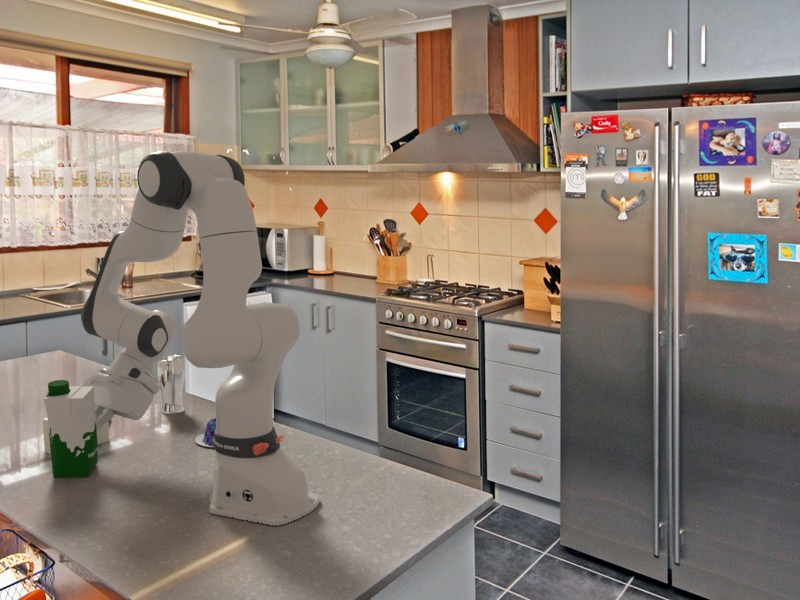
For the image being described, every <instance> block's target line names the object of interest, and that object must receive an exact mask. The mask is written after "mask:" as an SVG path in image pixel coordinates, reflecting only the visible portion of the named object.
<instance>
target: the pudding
mask: <svg viewBox="0 0 800 600" xmlns="http://www.w3.org/2000/svg"><path fill="white" fill-rule="evenodd" d="M215 429H216V417H215V418H211V419H210V420H208V421H207V423H206V427H205V430H204V432H203V433H201V434H199V435H197V436H196V437H195V439H194V442H195V443H196V444H197V445H200V446H203V447H207V448H208V447H209V448H214V431H215ZM203 438H204V439H203ZM202 439H203V443H202V442H201V441H202ZM205 442H206V443H205ZM205 444H206V445H205ZM209 445H210V446H209Z"/></svg>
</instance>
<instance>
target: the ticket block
mask: <svg viewBox="0 0 800 600" xmlns="http://www.w3.org/2000/svg"><path fill="white" fill-rule="evenodd" d="M100 416H101V415H100ZM100 416H99V417H100ZM109 425H110V423H109V422H106V423H105V424H103V426H102V427H101V429H100V430H97V442H98V444H99V445H101V443H102V444H104V442H105V443H107V441H108V442H110V426H109ZM42 428H43V429H42V432H43V442H44V443H43V446H44V453H46V454H49V455H51V451H50V440H49V429H48V418H47V417H45V418H44V417H43V418H42Z"/></svg>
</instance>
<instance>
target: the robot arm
mask: <svg viewBox="0 0 800 600" xmlns="http://www.w3.org/2000/svg"><path fill="white" fill-rule="evenodd" d="M136 176H137V178H136V179H137V186H138V190H137V193H136V195H135V199H134V201H133V205H132V210H131V214H130V218H129V219H130V220H129V223H128V225H127V226H126V228H125V229H124V230H122V231H119V232H117V233H116V234H115V235H114V236H113V237H112V239H111V240H110V242H109V244H108V246H107V248H106V250H105V254H104V256H103V259H102V262H101V265H100V267H99V270H98V273H97V275H96V278H95V281H94V284H93V286H92V289H91V291H90V294H89V295H88V297H87V299H86V301H85V303H84V305H83V306H82V309H81V312H80V320H81V324H82V326H83V328H84V331H85V332H86V333H87V334H88V335H91V336H94V337H97V338H101V339H104V340H106V341H109V342H111V343H113V344H116V345H118V346H121V347H124V348H123V349H121V350H120V351H119V352H118V353H117V355H116V356H115V358H114V359H113V361H112V362H111V364H110V365H109V366H108V368H100V369H99V370H96V371H95V372H94V373H92V374H90V375H89V376H88V377H87V378H86V379H85V380H84V381H83V383H82V384H81V385H80V386H82V387H91V386H94V403H95V415H96V429H97V430H100V429H101V427H102V426H103V424H105V423H106V422H108V421H109V420H110V419H111V420H112V418H113V417H115V415H117V416H119V417H124V418H126V419H129V420H132V421H138V420H140V419H141V418H143V417H144V415H145V414H146V412H147V411H148V409H149V407H150V406H151V404H152V403H153V400H154V398H155V396H154V395H157V394H158V393H159V392H160V391H161V390H160V386H159V383H157V382H156V381H155V380H154V379H153V378H152V375H153V373H154V371H155V367H156V366H157V365H158V362H159V361H160V360H161V359H162V358H163V356H166V355H165V354H166V353H167V351H168V350H169V348H170V346H171V345H172V342H173V340H174V338H175V336H176V334H177V331H178V325H177V322H176V321H175V320H174V319H173V317H171V315H170V314H168V313H167V312H165V311H163V310H159V309H154V310H149V309H147V308H144V307H142V306H139V305H137V304H135V303H132V302H130V301H128V300H125V299H123V298H122V297H121V296H120V295H119V292H118V291H119V288H120V286H121V282H122V280H123V279H124V278H123V277H124V275H125V272H126V269H127V267H128V265H129V264H130V263H152V262H159V261H163V260H166V259H168V258H170V257H172V256H174V254H176V253H177V251H178V250H179V249H180V247H181V245H182V241H183V240H184V239H183V238H184V234H185V228H186V223H187V219H188V218H187V217H188V212H189V209H190V210H191V211H192V212H193V213H194V214H195V217H196V222H197V230H198V240H199V244H200V245H199V247H200V253H201V261H202V262H201V263H202V271H203V272H202V273H203V276H202V277H203V280H202V289H201V294H200V297H199V301H198V303H197V306H196V308H195V310H194V311H193V313H192V314H191V316H190V317H189V318H188V320H187V321H185V323H184V324H183V327H182V329H181V334H180V348H181V350H182V353H183V355H184V357H185V358H186V360H187V361H188V362H189V363H190V364H191V365H192V366H194V367H196V368H200V369H201V368H202V369H203V368H204V369H222V368H227V367H232V366H233V367H232V370H231V372H230V374H229V375H228V377H227V378H226V379H225V380H224V381H223V382H222V383H221V385H220V386H219V387H218V388H217V391H216V392H215V418H216V429H215V431H214V445H213V446H214V447H213V448H214V450H215V462H214V470H213V479H212V485H211V490H210V494H209V498H208V500H209V503H210V504H209V511H208V512H209V513H210V514H213V515H216V516H217V515H218V516H222V517H228V518H232V517H233V518H232V519H236V520H237V519H238V520H242V521H247V520H248V521H247V522H252V521H253V523H257V522H259V523H258V524H262V523H263V525H267V524H268V526H272V525H273V526H275V525H276V526H282V525H286V524H289V523H292V522H294V521H293V520H295V521H297V520H299V519H301V518H302V516H303V517H304V516H307V515H308V514H310V513H312V511H315V509H316V508H317V507H318V506H319V504H320V500H321V499H320V496H319V495H318V494H316V493H314V492H311V491H309V490H308V482H307V481H308V480H307V477H306V474H305V472H304V471H303V470H302V469H301V468H300V467H299V465H298V464H297V463H295V462H294V461H293V460H292V459H291V458H290V457H289V456H288V455H287V453H286V452H285V451H284V450H283V449H281V444H280V442H283V441H285V439H283V438H284V436H285V435H279V436H278V434H277V431H276V429H275V427H274V426H273V423H274V422H273V421H274V417H273V416H274V412H273V410H274V393H275V386H276V382H277V379H278V375H279V373H280V369H281V367H282V365H283V363H284V361H285V359H286V357H287V355H288V354H289V352H290V351H291V350H292V349H293V348H294V346H295V345H296V344H297V342H298V340H299V338H300V334H301V333H300V332H301V326H300V321H299V318H298V316H297V314H296V312H295V311H294V310H293V308H291V306H289V305H287V304H284V303H277V302H266V301H265V302H258V303H253V304H247V298H248V293H249V290H250V287H251V286H252V284H253V283H254V282H256V281H257V280H258V279H259V277H260V276H261V274H262V270H263V264H262V256H261V250H260V248H261V247H260V243H259V242H260V241H259V235H258V228H257V223H256V219H255V214H254V209H253V206H252V203H251V200H250V196H249V194H248V191H247V188H246V187H245V185H246V180H245V172H244V170H243V168H242V166H241V164H240V163H239V162H238V161H237V160H235V159H234V158H232V157H229V156H227V155H222V154H215V155H214V154H210V153H203V152H198V151H197V152H196V151H193V150H191V151H189V150H187V151H186V150H185V151H167V150H161V151H156V152H152V153H148V154H147V155H146V156H145V157H144V158H142V160H141V162H140V164H139V167H138V169H137V173H136ZM100 415H101V416H100ZM99 416H100V417H99ZM298 518H299V519H298ZM296 519H297V520H296ZM291 521H292V522H291ZM288 522H289V523H288ZM276 526H275V527H276Z"/></svg>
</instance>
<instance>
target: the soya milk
mask: <svg viewBox="0 0 800 600" xmlns="http://www.w3.org/2000/svg"><path fill="white" fill-rule="evenodd" d="M47 389H48V392H47V394H46V395H45V397H44V398H43V402H44V407H45V410H46V416H47V417H46V418H48V429H49V440H50V451H51V454H50V458H51V459H50V460H51V466H52V467H51V469H52V478H54V479H58V478H60V479H61V478H62V479H64V478H67V479H68V478H88V477H90V474H91V473H92V472H93V470H95V469H94V468H95V467H96V466H97V464H98V461H99V460H98V454H99V453H98V451H99V448H98V447H99V445H98V442H97V429H96V415H95V403H94V386H91V387H82V386H81V385H76V386H74V385H73V386H71V385H70V383H69V381H68V380H64V379H59V380H58V379H57V380H53V381H50V382H48V384H47Z"/></svg>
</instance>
